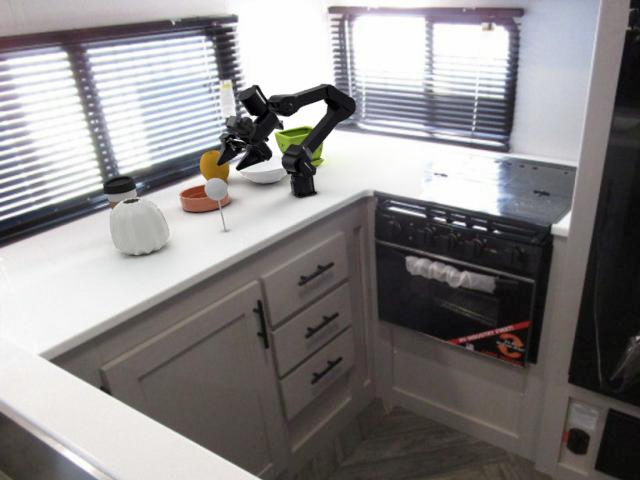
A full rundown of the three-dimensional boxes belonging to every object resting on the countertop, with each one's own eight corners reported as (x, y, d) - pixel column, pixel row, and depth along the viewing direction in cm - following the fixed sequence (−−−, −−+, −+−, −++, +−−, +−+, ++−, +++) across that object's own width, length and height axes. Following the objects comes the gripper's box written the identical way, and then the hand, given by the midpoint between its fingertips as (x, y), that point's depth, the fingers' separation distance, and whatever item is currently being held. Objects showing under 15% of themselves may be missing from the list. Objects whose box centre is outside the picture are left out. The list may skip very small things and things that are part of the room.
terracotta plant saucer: (223, 194, 188) (220, 181, 186) (235, 206, 177) (232, 192, 175) (178, 204, 182) (174, 190, 180) (188, 216, 171) (184, 202, 169)
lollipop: (230, 235, 156) (218, 182, 148) (210, 235, 157) (198, 182, 150) (240, 227, 161) (229, 175, 154) (221, 226, 162) (209, 174, 155)
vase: (118, 264, 143) (101, 214, 136) (117, 245, 154) (102, 197, 148) (175, 252, 148) (162, 203, 141) (170, 234, 159) (157, 188, 152)
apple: (210, 180, 203) (202, 147, 197) (236, 179, 202) (229, 145, 196) (199, 188, 195) (191, 154, 189) (227, 188, 194) (219, 153, 188)
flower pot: (312, 158, 221) (307, 124, 215) (328, 165, 210) (324, 130, 204) (278, 165, 214) (272, 131, 208) (293, 173, 204) (288, 137, 198)
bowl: (306, 181, 195) (304, 162, 192) (251, 194, 186) (248, 175, 183) (282, 169, 210) (280, 152, 207) (230, 181, 200) (227, 163, 197)
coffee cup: (155, 226, 165) (140, 176, 158) (134, 238, 158) (118, 185, 151) (132, 224, 168) (116, 174, 160) (110, 236, 161) (93, 184, 153)
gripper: (225, 103, 164) (190, 141, 159) (265, 109, 153) (228, 150, 148) (247, 133, 172) (214, 170, 168) (287, 140, 161) (253, 180, 156)
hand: (226, 167), depth 160 cm, fingers open, 9 cm apart
